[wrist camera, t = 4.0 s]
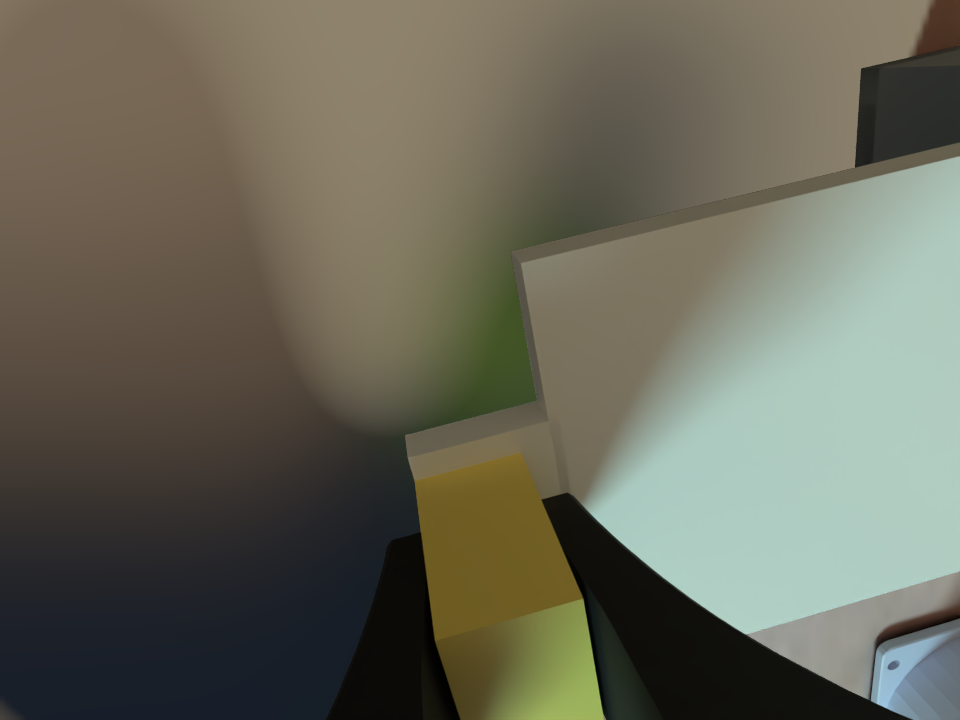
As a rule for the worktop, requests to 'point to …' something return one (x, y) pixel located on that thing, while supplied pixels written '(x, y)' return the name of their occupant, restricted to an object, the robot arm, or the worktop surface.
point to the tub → (908, 106)
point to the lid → (709, 425)
